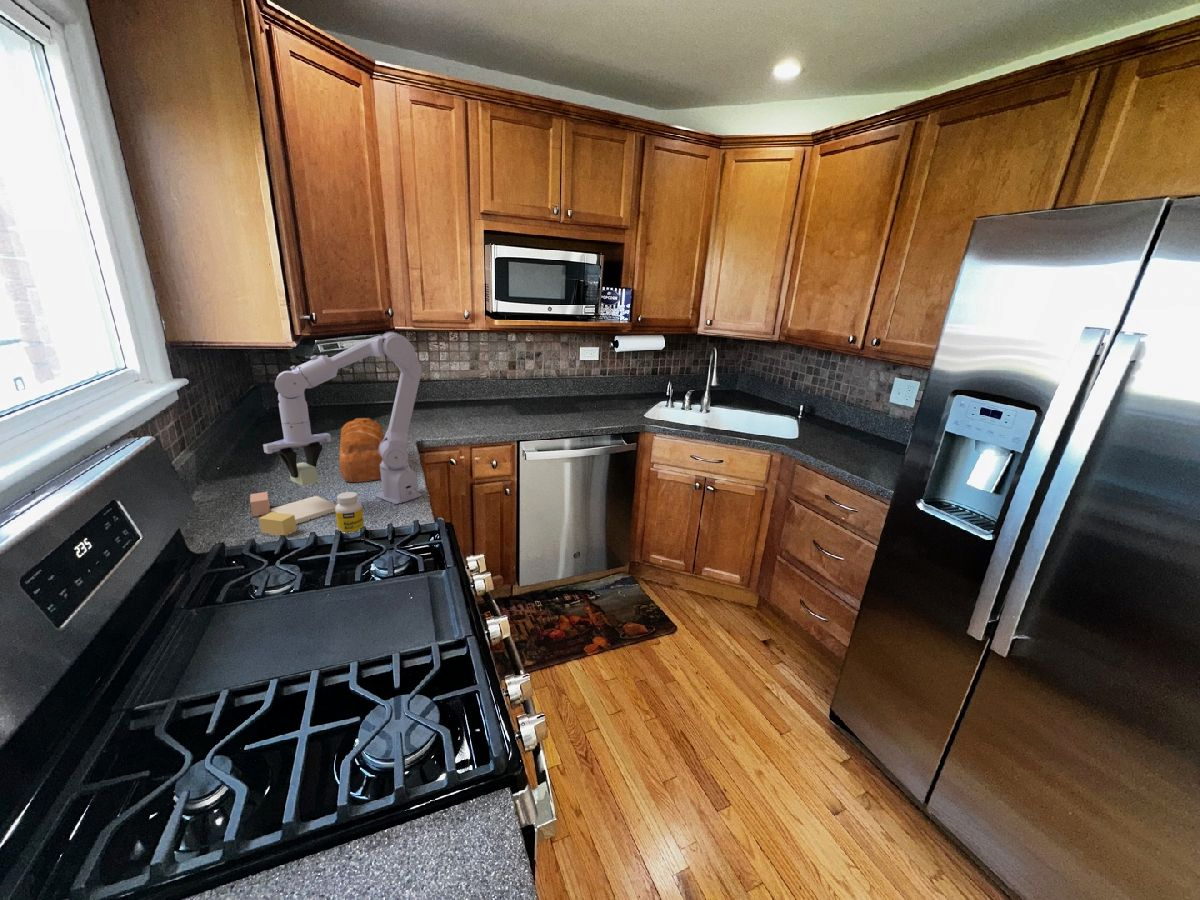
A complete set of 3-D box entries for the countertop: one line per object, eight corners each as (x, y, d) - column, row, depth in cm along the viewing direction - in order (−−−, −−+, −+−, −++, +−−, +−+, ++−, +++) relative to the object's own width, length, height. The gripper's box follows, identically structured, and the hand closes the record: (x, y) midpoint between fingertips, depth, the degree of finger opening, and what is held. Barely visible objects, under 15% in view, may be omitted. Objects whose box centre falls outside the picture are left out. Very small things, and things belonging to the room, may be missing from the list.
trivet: (339, 510, 120) (338, 505, 120) (293, 525, 112) (292, 520, 111) (316, 499, 126) (316, 495, 126) (271, 513, 117) (270, 508, 117)
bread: (387, 455, 165) (383, 411, 161) (392, 479, 143) (388, 430, 139) (342, 459, 159) (336, 414, 155) (340, 485, 137) (334, 434, 132)
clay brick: (270, 514, 117) (267, 499, 116) (253, 517, 115) (250, 502, 114) (269, 506, 122) (267, 491, 120) (253, 508, 120) (250, 494, 118)
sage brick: (317, 482, 118) (315, 467, 117) (302, 486, 115) (300, 470, 114) (305, 476, 121) (303, 462, 120) (290, 480, 118) (288, 465, 117)
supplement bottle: (344, 542, 105) (338, 501, 102) (334, 534, 108) (329, 494, 105) (369, 534, 109) (364, 495, 106) (359, 527, 112) (354, 488, 109)
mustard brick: (296, 530, 109) (294, 514, 108) (284, 537, 106) (281, 521, 105) (274, 527, 110) (271, 512, 109) (261, 534, 107) (258, 518, 106)
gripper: (318, 414, 121) (324, 464, 125) (253, 424, 110) (263, 478, 114) (332, 418, 118) (339, 469, 122) (267, 429, 106) (277, 485, 110)
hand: (303, 474), depth 117 cm, fingers closed on sage brick, 3 cm apart
